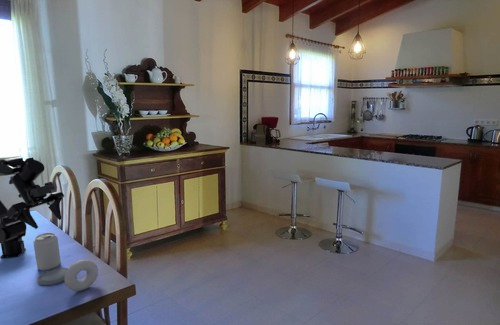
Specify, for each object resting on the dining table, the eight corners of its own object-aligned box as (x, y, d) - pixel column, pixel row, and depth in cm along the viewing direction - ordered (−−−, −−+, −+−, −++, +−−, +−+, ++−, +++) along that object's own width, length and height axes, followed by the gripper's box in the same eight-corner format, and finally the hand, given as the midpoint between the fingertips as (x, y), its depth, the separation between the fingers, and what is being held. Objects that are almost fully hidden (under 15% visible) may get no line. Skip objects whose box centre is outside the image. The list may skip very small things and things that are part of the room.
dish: (32, 287, 111) (32, 284, 111) (44, 271, 121) (44, 269, 121) (65, 283, 113) (65, 280, 113) (75, 269, 123) (75, 266, 122)
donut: (68, 298, 105) (64, 268, 103) (64, 293, 107) (60, 264, 105) (101, 285, 112) (98, 256, 110) (97, 281, 114) (94, 253, 112)
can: (50, 272, 120) (45, 240, 118) (32, 270, 122) (27, 239, 120) (65, 262, 128) (61, 232, 125) (48, 260, 129) (44, 230, 127)
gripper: (10, 182, 113) (35, 222, 112) (60, 170, 130) (82, 205, 129) (-4, 199, 117) (19, 237, 116) (46, 185, 134) (67, 219, 133)
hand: (49, 223), depth 124 cm, fingers open, 9 cm apart
